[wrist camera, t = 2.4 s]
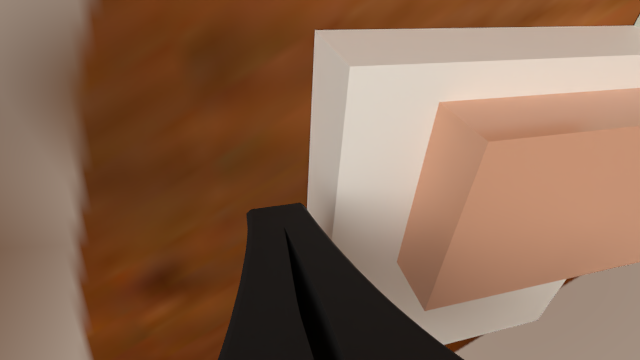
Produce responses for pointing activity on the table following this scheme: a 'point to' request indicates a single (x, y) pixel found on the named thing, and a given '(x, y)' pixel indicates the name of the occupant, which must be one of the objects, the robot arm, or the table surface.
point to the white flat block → (415, 129)
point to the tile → (524, 194)
